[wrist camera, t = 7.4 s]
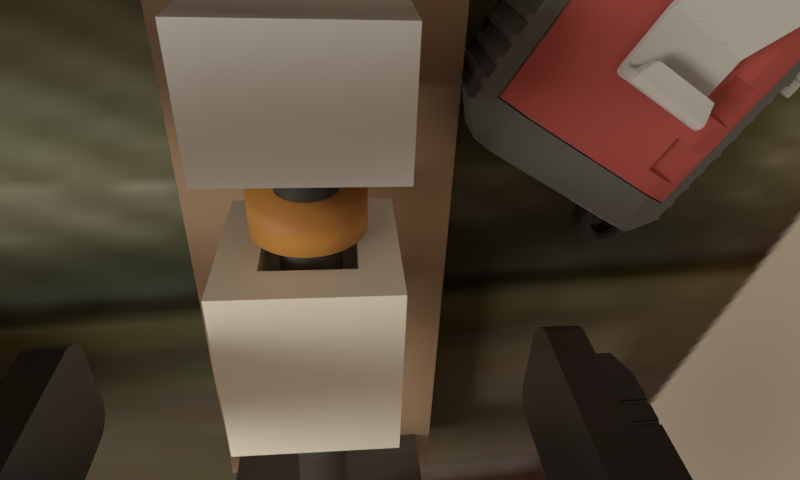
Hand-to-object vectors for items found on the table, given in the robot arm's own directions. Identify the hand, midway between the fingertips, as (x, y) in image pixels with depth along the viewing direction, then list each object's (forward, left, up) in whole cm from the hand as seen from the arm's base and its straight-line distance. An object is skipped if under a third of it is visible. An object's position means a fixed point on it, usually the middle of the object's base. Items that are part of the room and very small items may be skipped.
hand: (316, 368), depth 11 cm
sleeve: (0, 0, -3) cm, 3 cm away
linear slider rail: (+2, 0, -7) cm, 8 cm away
